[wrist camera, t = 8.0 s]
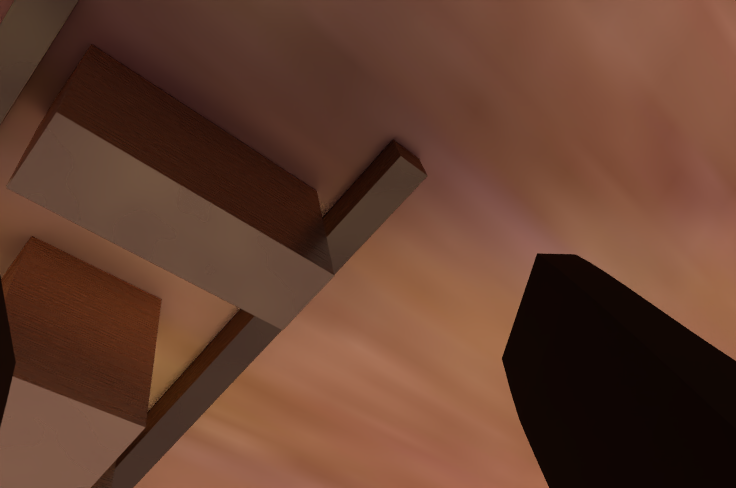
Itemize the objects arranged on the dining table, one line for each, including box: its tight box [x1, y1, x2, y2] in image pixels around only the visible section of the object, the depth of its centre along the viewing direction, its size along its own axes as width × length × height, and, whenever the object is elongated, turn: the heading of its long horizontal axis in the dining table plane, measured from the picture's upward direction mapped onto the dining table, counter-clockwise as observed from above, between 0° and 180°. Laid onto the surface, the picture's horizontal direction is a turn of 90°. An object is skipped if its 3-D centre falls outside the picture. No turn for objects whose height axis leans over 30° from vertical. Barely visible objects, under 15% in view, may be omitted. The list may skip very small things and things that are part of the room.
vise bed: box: [0, 0, 427, 488], centre depth 18 cm, size 10×17×4 cm, turn 139°
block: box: [0, 236, 162, 488], centre depth 18 cm, size 4×4×5 cm
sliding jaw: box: [6, 44, 335, 330], centre depth 17 cm, size 7×2×4 cm, turn 49°
